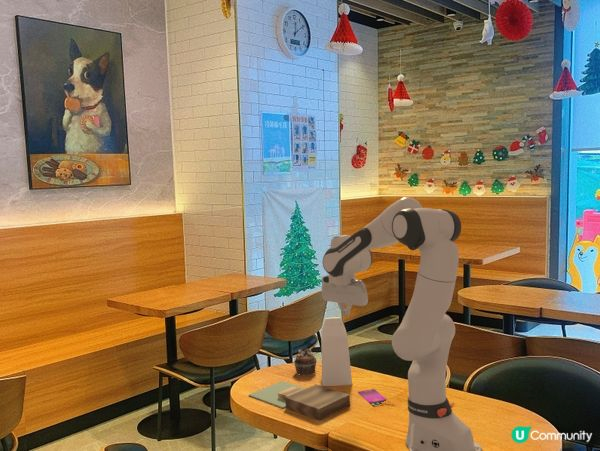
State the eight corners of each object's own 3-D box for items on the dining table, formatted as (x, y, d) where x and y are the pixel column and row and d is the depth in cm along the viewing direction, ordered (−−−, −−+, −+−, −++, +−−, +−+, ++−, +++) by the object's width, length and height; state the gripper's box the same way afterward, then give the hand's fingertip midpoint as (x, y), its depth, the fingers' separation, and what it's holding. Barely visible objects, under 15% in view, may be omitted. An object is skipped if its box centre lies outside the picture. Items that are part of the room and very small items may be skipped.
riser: (350, 405, 204) (349, 394, 203) (319, 420, 193) (318, 409, 192) (316, 394, 216) (315, 384, 215) (286, 408, 205) (285, 397, 204)
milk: (322, 386, 224) (318, 322, 222) (322, 376, 236) (318, 315, 234) (352, 384, 224) (348, 320, 222) (350, 374, 235) (347, 313, 233)
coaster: (308, 396, 213) (307, 391, 213) (292, 403, 208) (292, 397, 207) (293, 391, 219) (293, 386, 219) (278, 398, 213) (277, 392, 213)
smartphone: (373, 408, 201) (373, 406, 201) (357, 393, 215) (357, 390, 215) (391, 405, 203) (391, 403, 203) (375, 390, 217) (375, 388, 217)
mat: (317, 393, 217) (317, 392, 217) (283, 408, 204) (282, 407, 204) (282, 382, 231) (282, 381, 231) (248, 395, 219) (248, 394, 219)
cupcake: (292, 370, 244) (290, 348, 244) (313, 367, 247) (311, 345, 246) (298, 377, 235) (297, 354, 235) (320, 374, 238) (318, 351, 237)
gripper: (370, 279, 204) (372, 316, 205) (329, 274, 219) (331, 309, 220) (359, 282, 199) (361, 320, 201) (318, 277, 214) (320, 313, 215)
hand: (345, 314), depth 210 cm, fingers closed
